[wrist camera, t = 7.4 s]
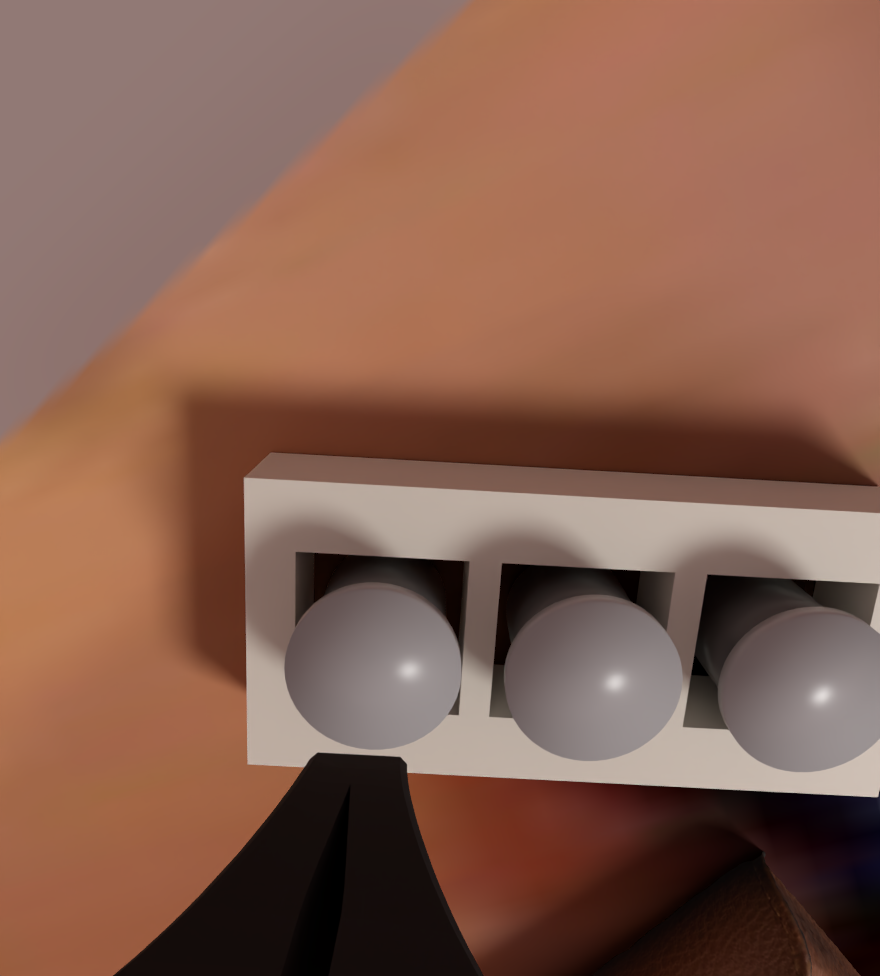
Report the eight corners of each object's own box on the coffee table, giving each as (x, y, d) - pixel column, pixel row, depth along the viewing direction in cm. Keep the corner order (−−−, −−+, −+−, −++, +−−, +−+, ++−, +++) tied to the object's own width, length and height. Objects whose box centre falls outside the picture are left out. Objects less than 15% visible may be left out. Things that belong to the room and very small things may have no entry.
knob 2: (829, 556, 18) (921, 620, 15) (802, 687, 19) (881, 776, 16) (683, 548, 18) (740, 609, 15) (662, 679, 19) (712, 767, 15)
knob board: (880, 486, 18) (947, 517, 16) (825, 735, 20) (877, 797, 18) (270, 452, 18) (243, 477, 16) (271, 706, 20) (247, 764, 17)
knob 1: (462, 536, 18) (467, 595, 15) (454, 669, 19) (456, 754, 15) (315, 527, 18) (284, 585, 14) (313, 661, 19) (284, 745, 15)
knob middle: (646, 546, 18) (694, 607, 15) (628, 677, 19) (669, 765, 15) (499, 537, 18) (513, 597, 15) (488, 670, 19) (498, 756, 15)
